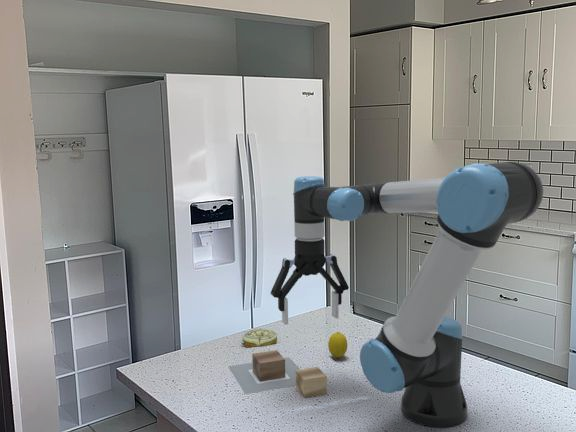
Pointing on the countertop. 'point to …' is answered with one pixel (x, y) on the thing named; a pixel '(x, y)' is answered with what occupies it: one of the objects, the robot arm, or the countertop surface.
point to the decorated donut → (259, 338)
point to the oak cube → (311, 382)
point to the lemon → (337, 344)
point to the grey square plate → (253, 384)
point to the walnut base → (268, 365)
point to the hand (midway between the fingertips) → (310, 320)
